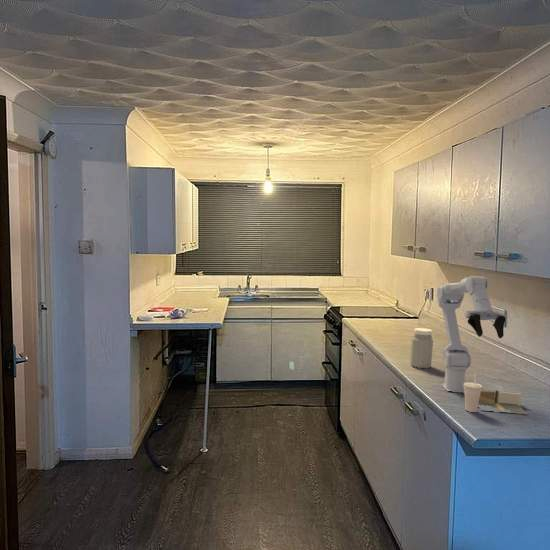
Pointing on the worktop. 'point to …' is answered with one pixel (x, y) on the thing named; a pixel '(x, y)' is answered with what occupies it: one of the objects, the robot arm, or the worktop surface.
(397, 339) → the worktop surface
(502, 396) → the fence panel
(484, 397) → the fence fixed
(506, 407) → the mat
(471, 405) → the smoothie
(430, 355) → the jar
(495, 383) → the worktop surface
